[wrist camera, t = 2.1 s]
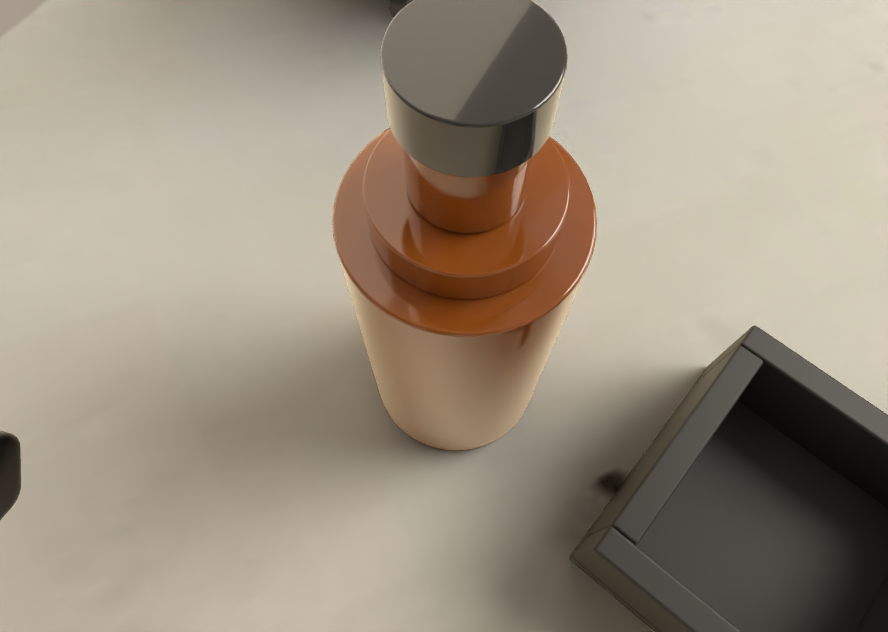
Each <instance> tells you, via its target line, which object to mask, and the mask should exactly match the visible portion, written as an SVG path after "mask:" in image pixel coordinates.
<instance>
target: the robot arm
mask: <svg viewBox="0 0 888 632" xmlns="http://www.w3.org/2000/svg"><path fill="white" fill-rule="evenodd" d="M20 489H21V458H20V442H19V440H18V438H17V437H16V436H14V435H13V434H10V433H7V432H3V431H0V520H1V519H2V518H3V516H4V515H5V514H6V513H7V512H8V511H9V510H10V509H11V507H12V506H13V505H14V503H15V502H16V500H17V498H18V496H19V493H20Z"/></svg>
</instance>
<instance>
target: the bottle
mask: <svg viewBox="0 0 888 632" xmlns="http://www.w3.org/2000/svg"><path fill="white" fill-rule="evenodd" d="M380 58H381V67H382V75H383V84H384V93H385V102H386V111H387V119H388V123H389V126H390V128H389V129H387V130H385V131H384V132H382V133H381V134H380V135H378V136H377V137H376V138H374V139H373V140H372V141H371V142H369V143H368V144H367V145H366V146H365V147H364V148H363V149H362V150H361V151H360V153H359V154H358V155H357V156H356V158H355V159H354V160H353V162H352V163H351V164H350V166H349V168H348V169H347V171H346V173H345V175H344V176H343V178H342V181H341V183H340V186H339V188H338V191H337V194H336V198H335V203H334V208H333V220H332V222H333V236H334V241H335V245H336V250H337V253H338V257H339V260H340V263H341V267H342V270H343V273H344V277H345V280H346V283H347V287H348V290H349V293H350V297H351V300H352V303H353V307H354V310H355V313H356V317H357V320H358V323H359V327H360V330H361V333H362V337H363V340H364V343H365V347H366V350H367V353H368V357H369V360H370V363H371V367H372V370H373V373H374V377H375V380H376V383H377V387H378V390H379V393H380V396H381V399H382V402H383V404H384V406H385V408H386V410H387V412H388V414H389V415H390V417H391V418H392V419H393V421H394V422H395V423H396V424H397V425H398V426H399V427H400V428H401V429H402V430H403V431H404V432H405V433H407V434H408V435H409V436H410V437H412V438H414V439H416V440H417V441H419V442H421V443H424V444H426V445H428V446H431V447H435V448H439V449H445V450H468V449H474V448H478V447H481V446H484V445H487V444H489V443H491V442H493V441H495V440H497V439H499V438H500V437H502V436H503V435H504V434H506V433H507V432H508V431H509V430H510V429H511V428H512V427H513V426H514V425H515V424H516V423H517V422H518V421H519V419H520V418H521V417H522V415H523V414H524V412H525V410H526V408H527V406H528V404H529V402H530V399H531V397H532V395H533V392H534V390H535V388H536V385H537V383H538V381H539V378H540V376H541V374H542V372H543V369H544V367H545V365H546V362H547V360H548V358H549V355H550V353H551V351H552V348H553V346H554V344H555V341H556V339H557V337H558V335H559V332H560V330H561V328H562V325H563V323H564V321H565V318H566V316H567V314H568V311H569V309H570V307H571V304H572V302H573V300H574V297H575V295H576V293H577V291H578V288H579V286H580V284H581V281H582V279H583V277H584V274H585V272H586V270H587V267H588V265H589V262H590V260H591V257H592V254H593V251H594V246H595V241H596V233H597V217H596V208H595V204H594V200H593V196H592V192H591V190H590V187H589V185H588V183H587V180H586V178H585V176H584V174H583V173H582V171H581V169H580V168H579V166H578V165H577V163H576V162H575V161H574V159H573V158H572V157H571V155H570V154H569V153H568V152H567V151H566V150H565V149H564V148H563V147H562V146H561V145H560V144H559V143H558V142H556V141H555V140H554V139H553V138H551V137H550V136H549V135H550V133H551V131H552V128H553V124H554V120H555V116H556V112H557V107H558V103H559V99H560V94H561V90H562V86H563V81H564V77H565V73H566V69H567V59H568V57H567V48H566V44H565V40H564V37H563V35H562V32H561V30H560V28H559V26H558V25H557V23H556V22H555V20H554V19H553V18H552V17H551V16H550V14H549V13H548V12H547V11H546V10H544V9H543V8H542V7H541V6H540V5H539V4H537V3H536V2H534V1H533V0H413V1H411V2H410V3H408V4H407V5H406V6H405V7H404V8H402V9H401V10H400V11H399V12H398V13H397V15H396V16H395V17H394V18H393V19H392V21H391V23H390V24H389V26H388V28H387V30H386V32H385V35H384V37H383V40H382V45H381V55H380Z"/></svg>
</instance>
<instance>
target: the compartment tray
mask: <svg viewBox="0 0 888 632" xmlns="http://www.w3.org/2000/svg"><path fill="white" fill-rule="evenodd" d="M570 560H571V561H572V562H574V563H575V564H576V565H577V566H578V567H579V568H581V569H582V570H583V571H584V572H585V573H587V574H588V575H589V576H590V577H591V578H592V579H594V580H595V581H596V582H597V583H598V584H600V585H601V586H602V587H603V588H604V589H606V590H607V591H608V592H609V593H610V594H611V595H613V596H614V597H615V598H616V599H617V600H619V601H620V602H621V603H622V604H623V605H624V606H626V607H627V608H628V609H629V610H630V611H632V612H633V613H634V614H635V615H636V616H638V617H639V618H640V619H641V620H642V621H643V622H645V623H646V624H647V625H648V626H649V627H651V628H652V629H653V630H654V631H655V632H888V415H887V414H885V413H884V412H882V411H881V410H880V409H878V408H877V407H875V406H874V405H872V404H871V403H869V402H868V401H866V400H865V399H863V398H862V397H860V396H859V395H857V394H856V393H854V392H853V391H851V390H850V389H849V388H847V387H846V386H844V385H843V384H841V383H840V382H838V381H837V380H835V379H834V378H832V377H831V376H829V375H828V374H826V373H825V372H823V371H822V370H820V369H819V368H817V367H816V366H815V365H813V364H812V363H810V362H809V361H807V360H806V359H804V358H803V357H801V356H800V355H798V354H797V353H795V352H794V351H792V350H791V349H789V348H788V347H786V346H785V345H784V344H782V343H781V342H779V341H778V340H776V339H775V338H773V337H772V336H770V335H769V334H767V333H766V332H764V331H763V330H761V329H760V328H758V327H757V326H752V327H751V328H750V329H749V330H748V331H747V332H746V333H744V334H743V335H742V336H741V337H740V338H739V339H738V340H737V341H735V342H734V343H733V344H732V345H731V346H730V347H729V348H728V349H727V350H725V351H724V352H723V353H722V354H721V355H720V356H719V357H718V358H716V359H715V360H714V361H713V362H712V363H711V364H710V365H708V367H707V368H706V370H705V371H704V372H703V374H702V375H701V376H700V378H699V379H698V381H697V382H696V383H695V385H694V386H693V388H692V389H691V390H690V392H689V393H688V394H687V396H686V397H685V399H684V400H683V401H682V403H681V404H680V405H679V407H678V408H677V410H676V411H675V412H674V414H673V415H672V416H671V418H670V419H669V421H668V422H667V423H666V425H665V426H664V427H663V429H662V430H661V432H660V433H659V434H658V436H657V437H656V439H655V440H654V441H653V443H652V444H651V445H650V447H649V448H648V450H647V451H646V452H645V454H644V455H643V456H642V458H641V459H640V461H639V462H638V463H637V465H636V466H635V467H634V469H633V470H632V472H631V473H630V474H629V476H628V477H627V478H626V480H625V481H624V483H623V484H622V485H621V487H620V488H619V490H618V491H617V492H616V494H615V495H614V496H613V498H612V499H611V501H610V502H609V503H608V505H607V506H606V507H605V509H604V510H603V512H602V513H601V514H600V516H599V517H598V518H597V520H596V521H595V523H594V524H593V525H592V527H591V528H590V530H589V531H588V532H587V534H586V535H585V536H584V538H583V539H582V541H581V542H580V543H579V545H578V546H577V547H576V549H575V550H574V552H573V553H572V554H571V556H570Z"/></svg>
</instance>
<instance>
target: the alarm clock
mask: <svg viewBox="0 0 888 632" xmlns="http://www.w3.org/2000/svg"><path fill="white" fill-rule="evenodd" d="M405 6H406V0H389V9H390V12H391V14H392V16H393V17H395V16H396V15H397V13H398V12H399V11H400V10H401V9H402V8H404V7H405Z"/></svg>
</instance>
